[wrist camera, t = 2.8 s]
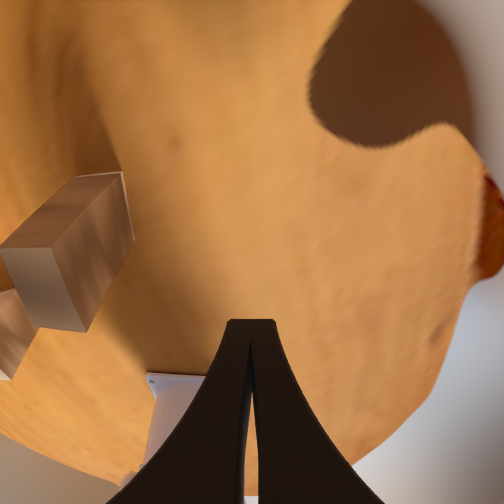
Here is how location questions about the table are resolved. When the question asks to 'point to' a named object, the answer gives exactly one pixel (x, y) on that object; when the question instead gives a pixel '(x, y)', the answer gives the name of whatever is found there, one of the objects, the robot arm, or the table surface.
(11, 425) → the table surface
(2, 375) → the maple block
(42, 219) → the walnut block
